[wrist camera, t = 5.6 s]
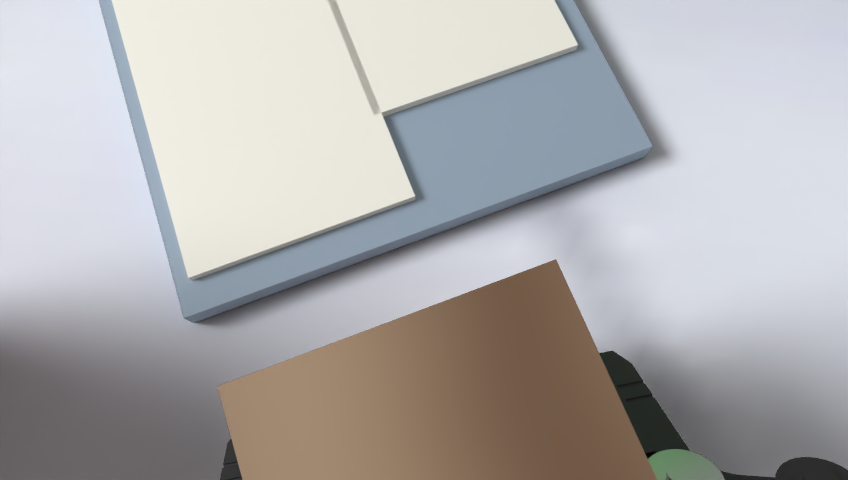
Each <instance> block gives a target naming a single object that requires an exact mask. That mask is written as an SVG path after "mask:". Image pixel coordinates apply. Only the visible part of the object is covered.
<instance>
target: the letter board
mask: <svg viewBox="0 0 848 480" xmlns="http://www.w3.org/2000/svg"><path fill="white" fill-rule="evenodd" d="M99 3H100V7H101V11H102V14H103V18H104V22H105V26H106V29H107V33H108V37H109V41H110V44H111V48H112V52H113V55H114V59H115V63H116V67H117V70H118V74H119V78H120V82H121V85H122V89H123V93H124V97H125V100H126V104H127V108H128V112H129V115H130V119H131V123H132V126H133V130H134V134H135V138H136V141H137V145H138V149H139V153H140V156H141V160H142V164H143V168H144V171H145V175H146V179H147V182H148V186H149V190H150V194H151V197H152V201H153V205H154V209H155V212H156V216H157V220H158V224H159V227H160V231H161V235H162V238H163V242H164V246H165V250H166V253H167V257H168V261H169V265H170V268H171V272H172V276H173V280H174V283H175V287H176V291H177V295H178V298H179V302H180V306H181V309H182V313H183V317H184V318H185V319H187V320H189V321H191V322H193V323H195V322H198V321H201V320H203V319H206V318H209V317H211V316H214V315H217V314H220V313H222V312H225V311H228V310H230V309H233V308H236V307H239V306H241V305H244V304H247V303H249V302H252V301H255V300H258V299H260V298H263V297H266V296H269V295H271V294H274V293H277V292H279V291H282V290H285V289H288V288H290V287H293V286H296V285H298V284H301V283H304V282H307V281H309V280H312V279H315V278H317V277H320V276H323V275H326V274H328V273H331V272H334V271H336V270H339V269H342V268H345V267H347V266H350V265H353V264H356V263H358V262H361V261H364V260H366V259H369V258H372V257H375V256H377V255H380V254H383V253H385V252H388V251H391V250H394V249H396V248H399V247H402V246H404V245H407V244H410V243H413V242H415V241H418V240H421V239H423V238H426V237H429V236H432V235H434V234H437V233H440V232H443V231H445V230H448V229H451V228H453V227H456V226H459V225H462V224H464V223H467V222H470V221H472V220H475V219H478V218H481V217H483V216H486V215H489V214H491V213H494V212H497V211H500V210H502V209H505V208H508V207H510V206H513V205H516V204H519V203H521V202H524V201H527V200H530V199H532V198H535V197H538V196H540V195H543V194H546V193H549V192H551V191H554V190H557V189H559V188H562V187H565V186H568V185H570V184H573V183H576V182H578V181H581V180H584V179H587V178H589V177H592V176H595V175H597V174H600V173H603V172H606V171H608V170H611V169H614V168H617V167H619V166H622V165H625V164H627V163H630V162H633V161H636V160H638V159H641V158H644V157H645V156H646V155H647V153H648V152H649V151H650V149H651V148H652V147H653V145H652V144H651V142H650V140H649V138H648V136H647V134H646V133H645V131H644V129H643V127H642V125H641V123H640V121H639V120H638V118H637V116H636V114H635V112H634V110H633V109H632V107H631V105H630V103H629V101H628V99H627V98H626V96H625V94H624V92H623V90H622V88H621V86H620V85H619V83H618V81H617V79H616V77H615V75H614V74H613V72H612V70H611V68H610V66H609V64H608V63H607V61H606V59H605V57H604V55H603V53H602V51H601V50H600V48H599V46H598V44H597V42H596V40H595V39H594V37H593V35H592V33H591V31H590V29H589V28H588V26H587V24H586V22H585V20H584V18H583V16H582V15H581V13H580V11H579V9H578V7H577V5H576V4H575V2H574V0H99Z"/></svg>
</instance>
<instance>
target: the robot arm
mask: <svg viewBox="0 0 848 480" xmlns="http://www.w3.org/2000/svg"><path fill="white" fill-rule="evenodd" d="M599 354H600V356H601V359H602V361H603V363H604V365H605V367H606V369H607V372H608V374H609V376H610V378H611V380H612V382H613V385H614V387H615V389H616V391H617V393H618V396H619V398H620V400H621V402H622V404H623V406H624V409H625V411H626V413H627V415H628V417H629V420H630V422H631V424H632V426H633V428H634V430H635V433H636V435H637V437H638V439H639V441H640V444H641V446H642V448H643V450H644V452H645V454H646V457H647V459H648V461H649V463H650V465H651V467H652V470H653V472H654V474H655V476H656V478H657V480H848V470H846V469H845V468H843V467H841V466H839V465H837V464H835V463H832V462H830V461H827V460H823V459H819V458H811V457H801V458H795V459H791V460H788V461H787V462H785V463H783V464H782V465H781V466H780V467H779V469H778V470H777V473H776V476H775V478H773V477H759V476H745V475H735V474H730V473H726V472H723V471H720V470H719V469H718V468H717V467H716V466H715V465H714V463H712V462H711V461H710V460H708V459H707V458H705V457H703V456H702V455H699V454H697V453H695V452H691V451H690V450H689V449H688V447H687V446H686V445H685V443H684V442H683V440H682V439H681V437H680V436H679V434H678V433H677V431H676V430H675V428H674V427H673V425H672V424H671V422H670V421H669V419H668V418H667V416H666V415H665V413H664V412H663V410H662V409H661V407H660V406H659V404H658V403H657V401H656V400H655V398H653V397H652V394H651V392H650V391H649V389H648V388H647V386H646V385H645V384H644V383H643V380H642V379H641V377H640V376H639V374H638V373H637V371H636V370H635V368H634V367H633V365H632V364H631V363H630V362H628V361H627V360H626V359H624V358H623V357H621V356H620V355H618V354H617V353H615V352H614V351H609V352H604V353H599ZM223 465H224V468H222V473H221V478H220V480H242V476H241V472H240V469H239V465H238V461H237V458H236V454H235V450H234V446H233V443H232V439H230V441H229V442H228V444H227V449H226V454H225V458H224V463H223Z"/></svg>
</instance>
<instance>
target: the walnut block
mask: <svg viewBox="0 0 848 480" xmlns="http://www.w3.org/2000/svg"><path fill="white" fill-rule="evenodd" d="M217 387H218V391H219V395H220V398H221V402H222V406H223V409H224V413H225V417H226V420H227V424H228V428H229V432H230V435H231V439H232V443H233V446H234V450H235V454H236V458H237V461H238V465H239V469H240V472H241V476H242V480H657V478H656V476H655V474H654V472H653V470H652V467H651V465H650V463H649V461H648V459H647V457H646V454H645V452H644V450H643V448H642V446H641V444H640V441H639V439H638V437H637V435H636V433H635V430H634V428H633V426H632V424H631V422H630V420H629V417H628V415H627V413H626V411H625V409H624V406H623V404H622V402H621V400H620V398H619V396H618V393H617V391H616V389H615V387H614V385H613V382H612V380H611V378H610V376H609V374H608V372H607V369H606V367H605V365H604V363H603V361H602V359H601V356H600V354H599V352H598V350H597V348H596V345H595V343H594V341H593V339H592V337H591V335H590V332H589V330H588V328H587V326H586V324H585V321H584V319H583V317H582V315H581V313H580V311H579V308H578V306H577V304H576V302H575V300H574V298H573V295H572V293H571V291H570V289H569V287H568V284H567V282H566V280H565V278H564V276H563V274H562V271H561V269H560V267H559V265H558V263H557V260H553V261H550V262H548V263H545V264H542V265H540V266H537V267H534V268H532V269H529V270H526V271H524V272H521V273H518V274H516V275H513V276H510V277H508V278H505V279H502V280H500V281H497V282H494V283H492V284H489V285H486V286H484V287H481V288H478V289H476V290H473V291H470V292H468V293H465V294H462V295H460V296H457V297H454V298H452V299H449V300H446V301H444V302H441V303H438V304H436V305H433V306H430V307H428V308H425V309H422V310H420V311H417V312H414V313H412V314H409V315H406V316H404V317H401V318H398V319H396V320H393V321H390V322H388V323H385V324H382V325H380V326H377V327H374V328H372V329H369V330H366V331H364V332H361V333H358V334H356V335H353V336H350V337H348V338H345V339H342V340H340V341H337V342H334V343H332V344H329V345H326V346H324V347H321V348H318V349H316V350H313V351H310V352H308V353H305V354H302V355H300V356H297V357H294V358H292V359H289V360H286V361H284V362H281V363H278V364H276V365H273V366H270V367H268V368H265V369H262V370H260V371H257V372H254V373H252V374H249V375H246V376H244V377H241V378H238V379H236V380H233V381H230V382H228V383H225V384H222V385H220V386H217Z"/></svg>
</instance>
